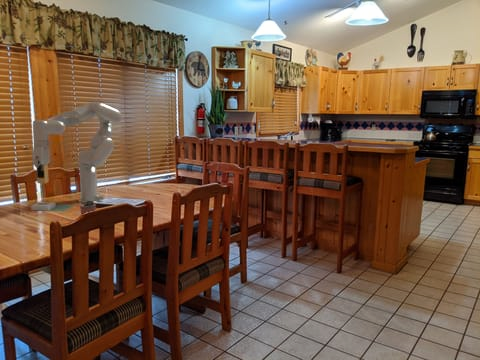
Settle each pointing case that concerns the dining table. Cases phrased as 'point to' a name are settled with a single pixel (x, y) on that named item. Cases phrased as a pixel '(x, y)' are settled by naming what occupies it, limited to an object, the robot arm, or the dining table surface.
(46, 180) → the plug
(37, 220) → the dining table surface
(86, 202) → the lighter
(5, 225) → the dining table surface
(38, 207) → the board
